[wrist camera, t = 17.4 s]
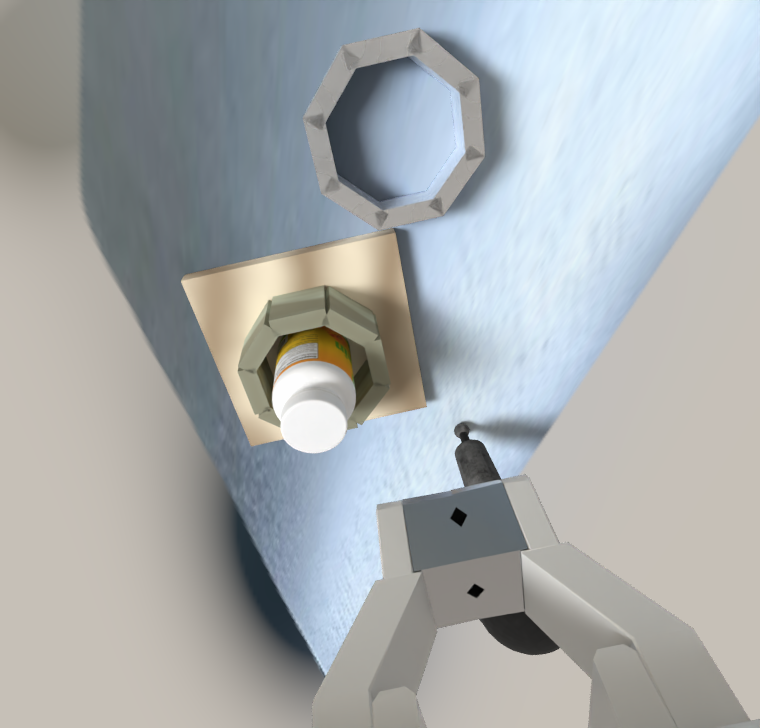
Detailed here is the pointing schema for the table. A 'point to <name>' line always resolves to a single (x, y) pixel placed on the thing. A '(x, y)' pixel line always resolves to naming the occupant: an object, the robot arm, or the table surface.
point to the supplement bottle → (314, 388)
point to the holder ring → (464, 122)
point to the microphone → (510, 627)
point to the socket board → (311, 324)
